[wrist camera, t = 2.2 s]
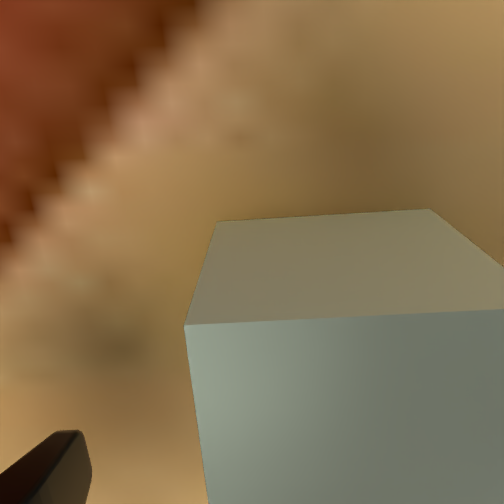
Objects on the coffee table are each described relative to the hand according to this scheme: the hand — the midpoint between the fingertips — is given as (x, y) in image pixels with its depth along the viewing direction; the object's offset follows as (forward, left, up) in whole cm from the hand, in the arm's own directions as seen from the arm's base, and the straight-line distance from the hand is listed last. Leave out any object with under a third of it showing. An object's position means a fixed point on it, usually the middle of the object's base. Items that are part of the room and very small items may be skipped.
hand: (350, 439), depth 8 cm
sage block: (0, 0, -5) cm, 5 cm away
